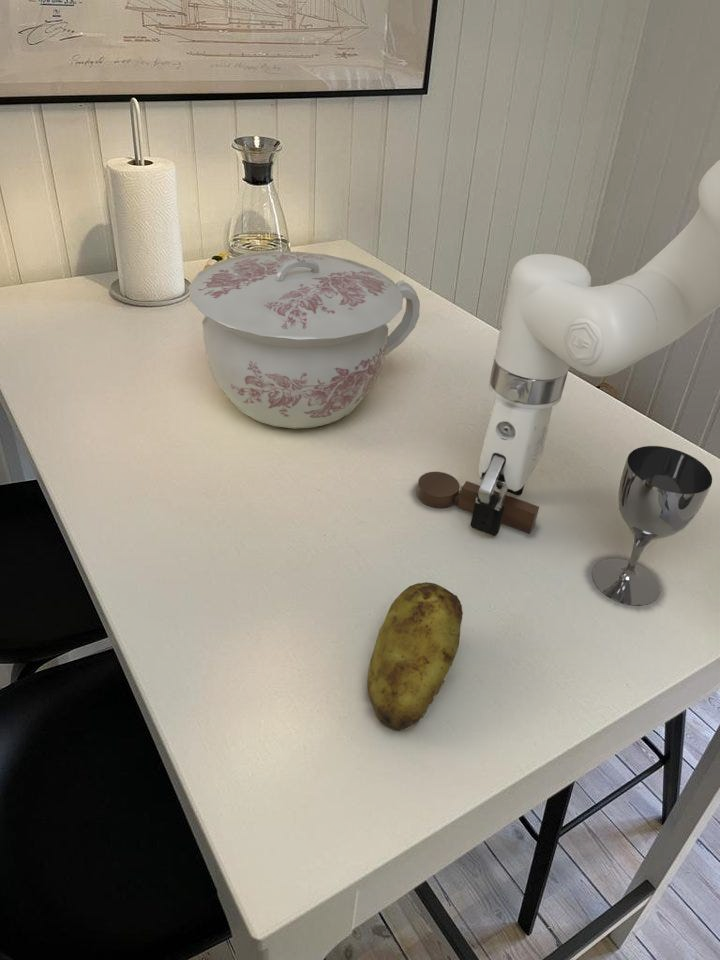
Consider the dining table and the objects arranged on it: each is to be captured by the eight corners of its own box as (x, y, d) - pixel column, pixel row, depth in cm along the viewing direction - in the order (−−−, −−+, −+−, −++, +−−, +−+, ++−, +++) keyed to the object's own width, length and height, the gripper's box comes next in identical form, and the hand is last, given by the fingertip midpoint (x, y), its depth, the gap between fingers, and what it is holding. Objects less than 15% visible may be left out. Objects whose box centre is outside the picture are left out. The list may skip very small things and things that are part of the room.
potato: (327, 699, 66) (331, 637, 61) (409, 617, 75) (419, 557, 70) (404, 753, 62) (415, 692, 58) (481, 660, 71) (497, 600, 66)
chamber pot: (158, 428, 98) (142, 276, 86) (245, 342, 120) (242, 211, 107) (362, 478, 93) (377, 323, 80) (415, 379, 114) (433, 244, 102)
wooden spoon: (538, 518, 89) (543, 498, 87) (525, 542, 85) (531, 522, 83) (426, 478, 94) (429, 458, 92) (409, 499, 90) (412, 479, 88)
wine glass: (663, 617, 77) (714, 502, 68) (585, 595, 79) (625, 481, 70) (663, 568, 83) (711, 457, 74) (591, 548, 85) (628, 438, 76)
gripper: (538, 427, 70) (502, 565, 80) (584, 356, 83) (548, 483, 93) (463, 403, 72) (438, 540, 83) (519, 338, 85) (491, 463, 96)
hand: (496, 509), depth 88 cm, fingers open, 8 cm apart
